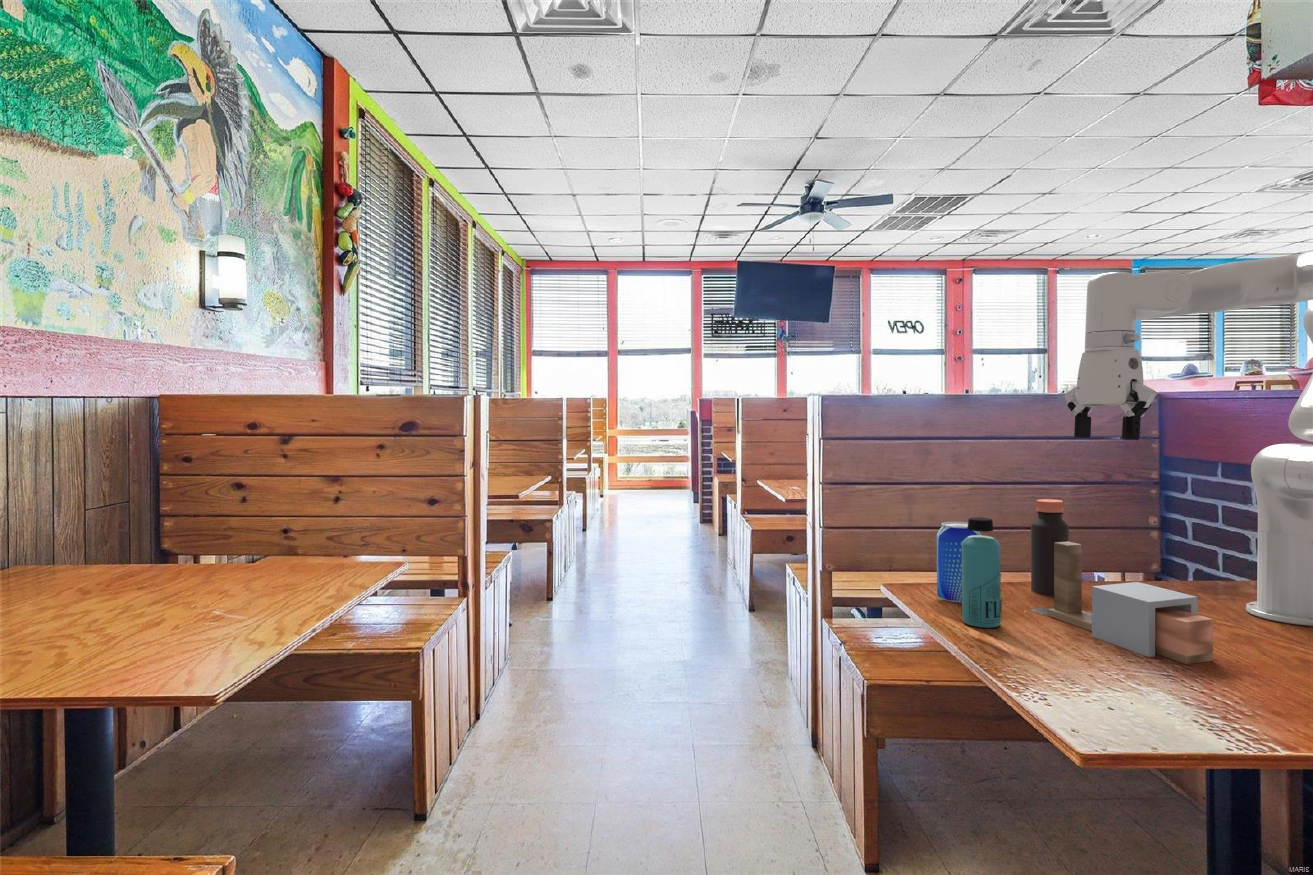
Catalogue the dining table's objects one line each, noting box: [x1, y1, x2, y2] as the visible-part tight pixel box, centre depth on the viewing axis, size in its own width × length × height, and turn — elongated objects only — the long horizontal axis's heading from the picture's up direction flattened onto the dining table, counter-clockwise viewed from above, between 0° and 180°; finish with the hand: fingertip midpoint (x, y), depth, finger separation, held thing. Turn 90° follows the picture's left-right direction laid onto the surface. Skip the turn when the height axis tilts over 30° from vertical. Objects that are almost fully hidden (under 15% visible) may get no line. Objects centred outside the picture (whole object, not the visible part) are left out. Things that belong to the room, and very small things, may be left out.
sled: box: [1046, 541, 1214, 665], centre depth 112 cm, size 5×26×13 cm, turn 14°
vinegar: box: [1030, 498, 1070, 597], centre depth 141 cm, size 7×7×20 cm
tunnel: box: [1091, 581, 1199, 658], centre depth 109 cm, size 9×10×8 cm
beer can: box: [936, 521, 983, 603], centre depth 138 cm, size 8×8×16 cm
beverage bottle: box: [960, 516, 1003, 629], centre depth 120 cm, size 6×7×20 cm
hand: (1105, 438), depth 123 cm, fingers open, 9 cm apart
